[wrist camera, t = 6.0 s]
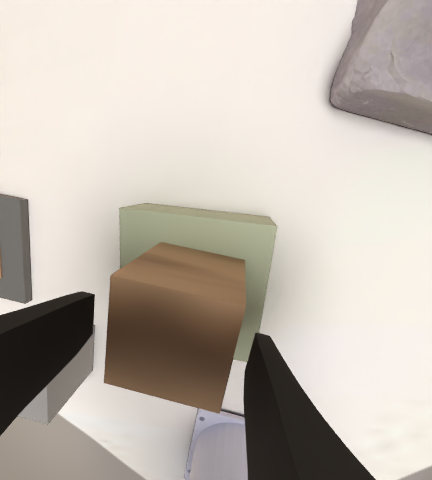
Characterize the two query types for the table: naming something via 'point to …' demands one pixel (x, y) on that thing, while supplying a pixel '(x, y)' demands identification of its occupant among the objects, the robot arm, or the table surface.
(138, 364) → the walnut block
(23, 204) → the card
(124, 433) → the table surface
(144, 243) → the sage block
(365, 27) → the stone block
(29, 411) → the light gray cube
